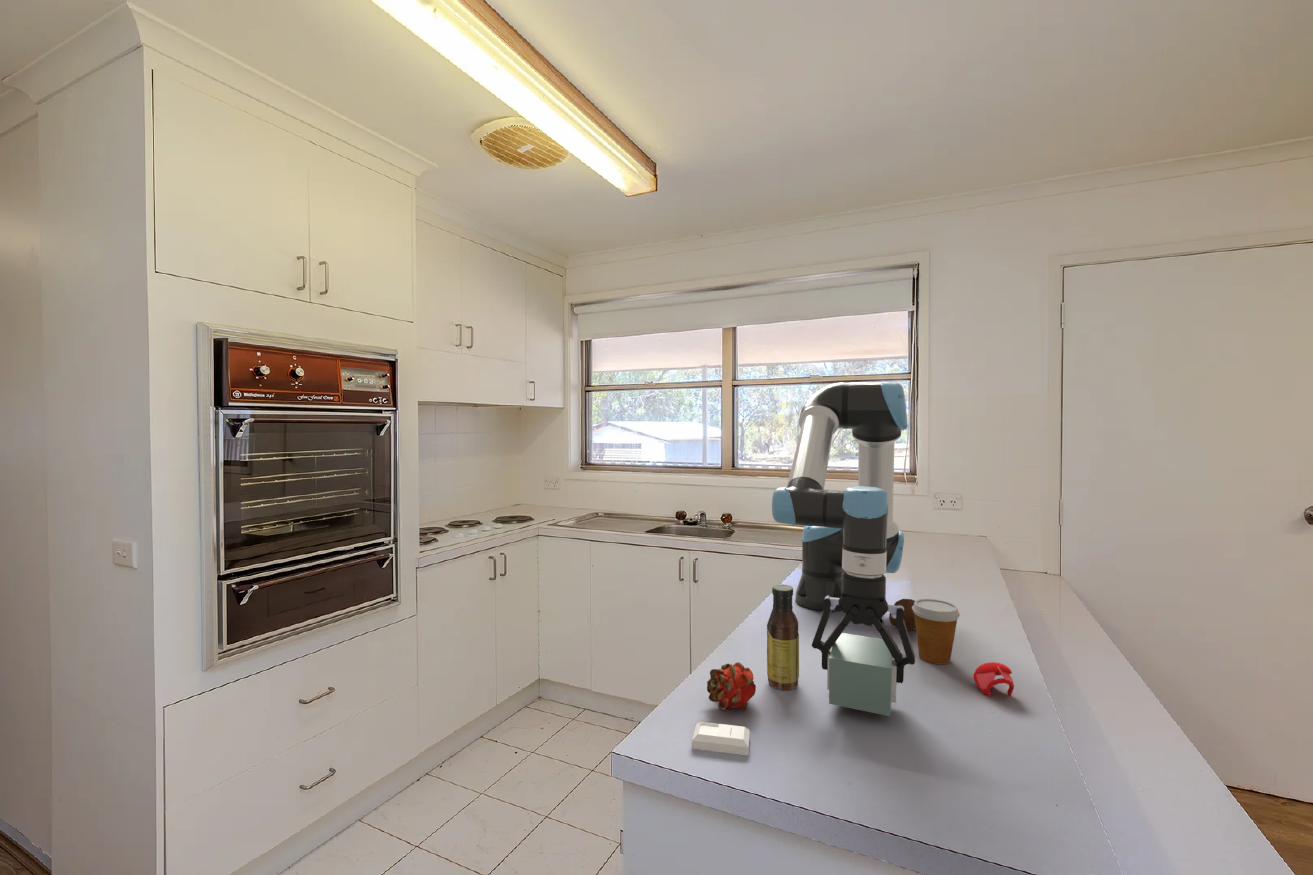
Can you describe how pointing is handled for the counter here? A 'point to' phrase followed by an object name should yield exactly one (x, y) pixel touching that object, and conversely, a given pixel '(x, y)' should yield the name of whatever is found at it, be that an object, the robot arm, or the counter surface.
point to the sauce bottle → (782, 640)
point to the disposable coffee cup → (935, 629)
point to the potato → (905, 614)
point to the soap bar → (721, 738)
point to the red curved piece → (992, 677)
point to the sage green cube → (860, 674)
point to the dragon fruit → (731, 686)
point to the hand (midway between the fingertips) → (861, 692)
